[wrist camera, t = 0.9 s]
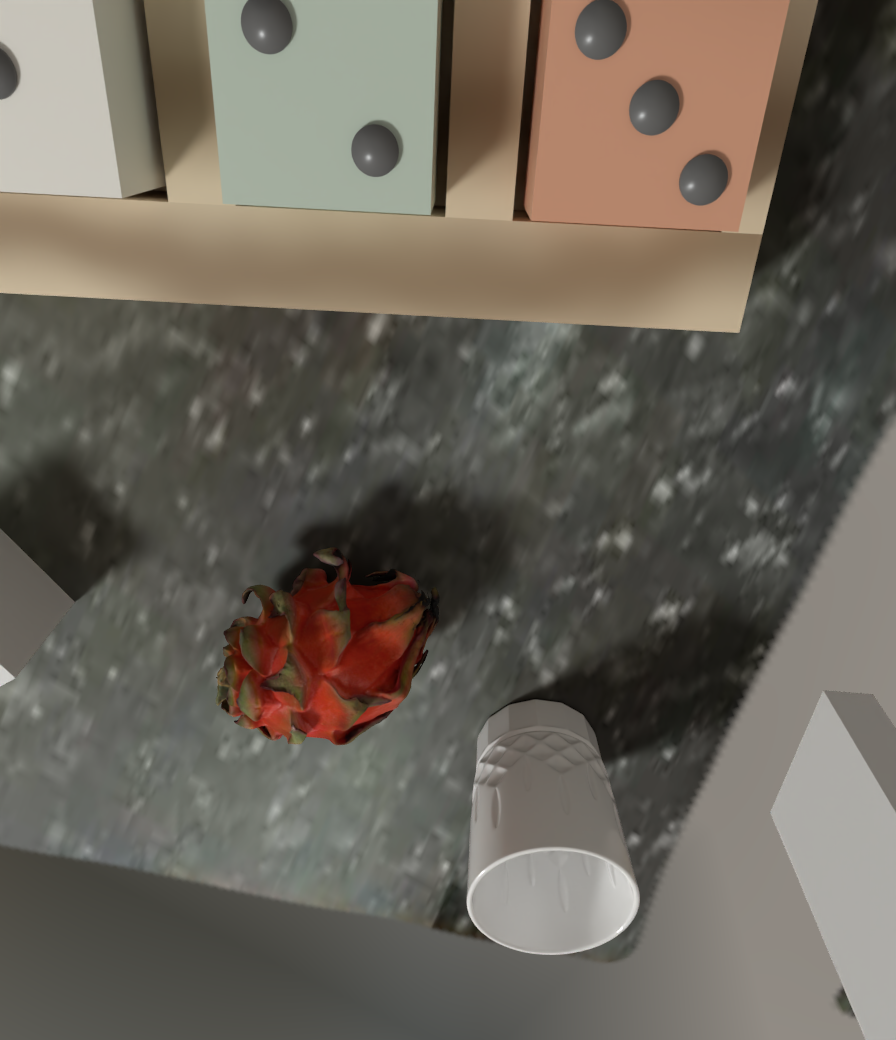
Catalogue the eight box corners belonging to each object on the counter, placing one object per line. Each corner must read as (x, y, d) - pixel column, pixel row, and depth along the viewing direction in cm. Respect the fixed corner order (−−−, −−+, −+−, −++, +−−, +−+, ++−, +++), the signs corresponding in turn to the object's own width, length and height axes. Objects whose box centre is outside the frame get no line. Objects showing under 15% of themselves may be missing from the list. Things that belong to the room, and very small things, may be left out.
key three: (542, -16, 24) (555, -36, 20) (746, -5, 24) (796, -23, 20) (522, 204, 27) (531, 221, 23) (703, 214, 27) (739, 232, 23)
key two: (239, -33, 24) (197, -56, 20) (443, -21, 24) (438, -43, 20) (255, 190, 27) (221, 204, 23) (435, 200, 27) (430, 215, 23)
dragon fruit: (232, 623, 42) (423, 523, 40) (292, 768, 40) (494, 670, 39) (142, 626, 33) (380, 501, 32) (215, 810, 32) (468, 687, 30)
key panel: (-101, -185, 24) (-198, -233, 21) (803, -134, 24) (859, -173, 21) (3, 268, 31) (-56, 289, 28) (708, 306, 31) (739, 332, 28)
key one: (-65, -49, 24) (-162, -76, 20) (140, -38, 24) (80, -63, 20) (-14, 175, 27) (-90, 187, 23) (167, 185, 27) (120, 198, 23)
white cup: (627, 761, 44) (666, 926, 35) (506, 806, 46) (516, 972, 37) (568, 669, 41) (595, 826, 32) (441, 721, 43) (435, 881, 34)
